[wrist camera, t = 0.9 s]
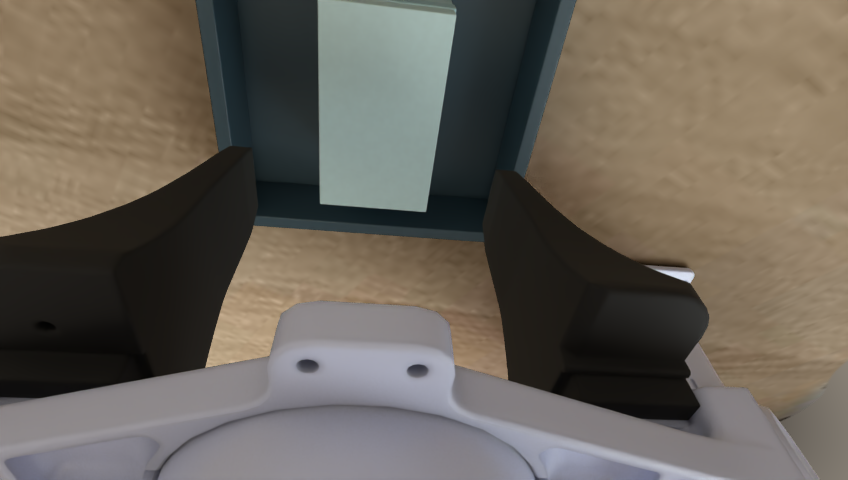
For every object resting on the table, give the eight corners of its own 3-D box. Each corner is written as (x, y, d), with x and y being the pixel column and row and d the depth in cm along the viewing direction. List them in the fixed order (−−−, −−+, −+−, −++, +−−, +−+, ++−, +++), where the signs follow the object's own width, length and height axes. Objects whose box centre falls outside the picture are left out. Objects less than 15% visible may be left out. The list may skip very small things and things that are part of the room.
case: (423, 160, 25) (427, 213, 21) (330, 152, 24) (318, 205, 21) (447, -17, 20) (458, 13, 16) (331, -33, 19) (316, -5, 16)
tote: (494, 203, 27) (505, 244, 24) (247, 183, 26) (229, 224, 23) (568, -79, 19) (596, -66, 16) (210, -132, 17) (175, -127, 15)
